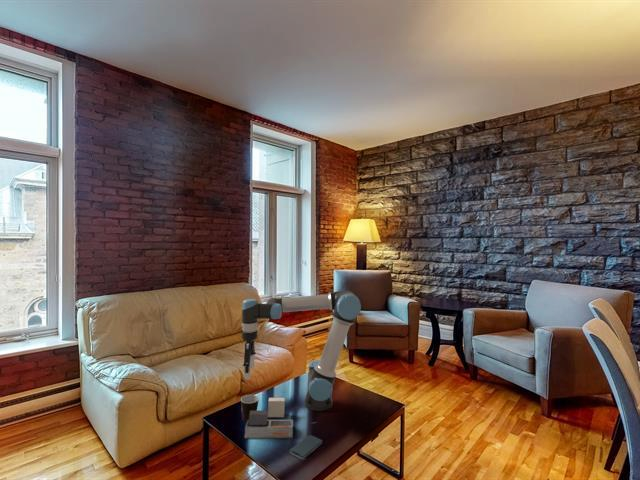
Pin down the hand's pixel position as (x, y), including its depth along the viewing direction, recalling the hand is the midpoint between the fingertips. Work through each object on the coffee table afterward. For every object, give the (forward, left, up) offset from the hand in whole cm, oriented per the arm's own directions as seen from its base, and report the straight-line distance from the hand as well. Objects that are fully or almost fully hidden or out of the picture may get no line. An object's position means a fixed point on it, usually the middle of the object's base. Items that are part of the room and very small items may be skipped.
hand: (249, 373), depth 161 cm
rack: (-12, +13, -22) cm, 28 cm away
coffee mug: (-1, +1, -22) cm, 22 cm away
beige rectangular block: (-14, -1, -22) cm, 26 cm away
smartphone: (-29, +24, -22) cm, 44 cm away
